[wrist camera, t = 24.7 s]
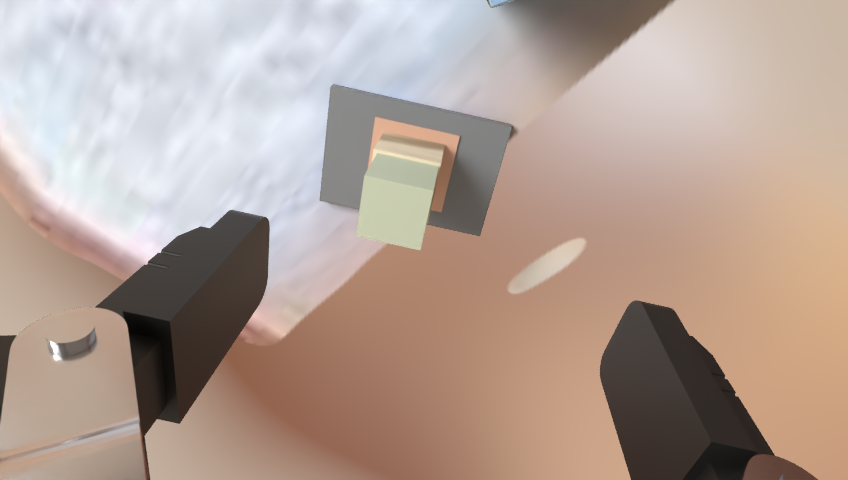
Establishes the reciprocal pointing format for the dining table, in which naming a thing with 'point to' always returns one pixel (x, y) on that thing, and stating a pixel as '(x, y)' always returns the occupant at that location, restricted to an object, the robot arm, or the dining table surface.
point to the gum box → (498, 2)
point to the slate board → (461, 133)
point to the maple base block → (411, 151)
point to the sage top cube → (396, 201)
